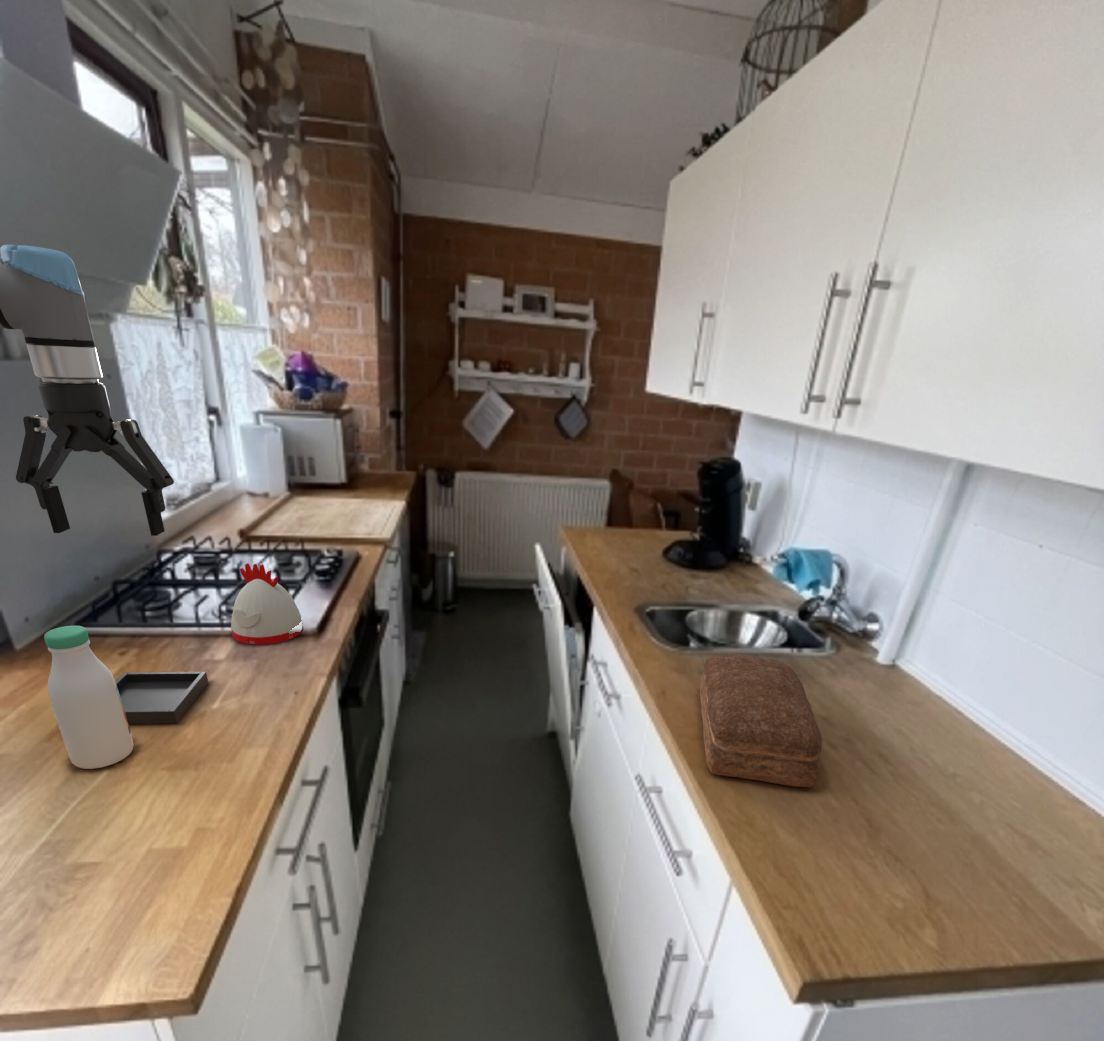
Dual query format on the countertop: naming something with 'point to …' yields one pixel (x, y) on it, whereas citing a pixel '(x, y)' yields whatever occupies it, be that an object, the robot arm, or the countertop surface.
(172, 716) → the dock tray
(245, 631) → the kitchen timer
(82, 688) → the milk bottle
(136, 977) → the countertop surface
